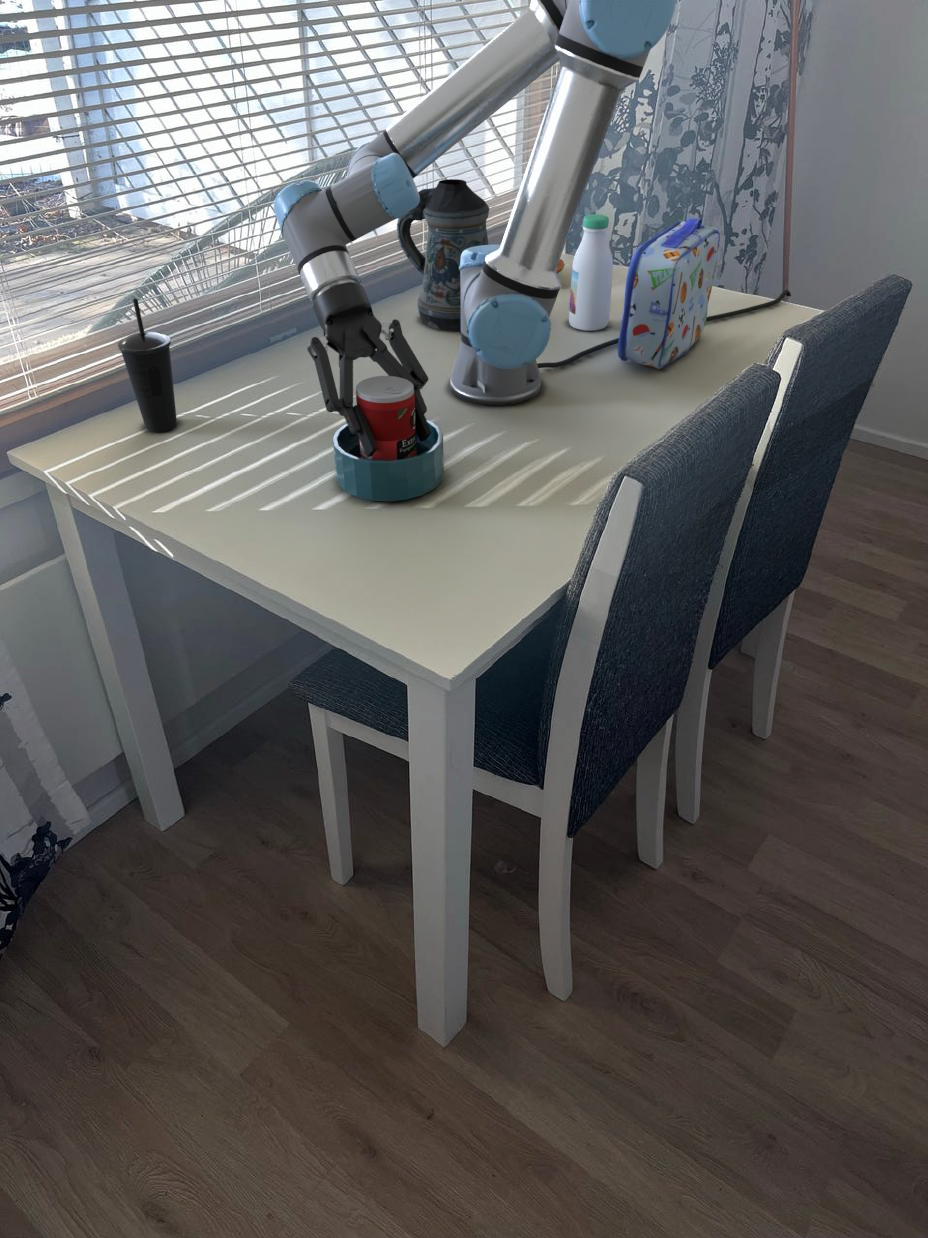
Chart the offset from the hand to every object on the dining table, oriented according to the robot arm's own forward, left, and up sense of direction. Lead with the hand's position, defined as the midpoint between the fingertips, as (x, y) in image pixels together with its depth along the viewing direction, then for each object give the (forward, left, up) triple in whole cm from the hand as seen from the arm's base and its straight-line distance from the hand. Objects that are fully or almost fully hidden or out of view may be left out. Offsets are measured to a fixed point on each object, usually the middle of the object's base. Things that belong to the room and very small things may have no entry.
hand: (399, 444), depth 132 cm
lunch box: (-55, -40, -7) cm, 68 cm away
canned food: (+1, -3, -4) cm, 5 cm away
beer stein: (-21, -66, -7) cm, 69 cm away
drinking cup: (+34, -29, -7) cm, 45 cm away
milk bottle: (-46, -56, -7) cm, 73 cm away
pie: (-42, -85, -7) cm, 95 cm away
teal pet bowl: (+1, -3, -7) cm, 7 cm away
